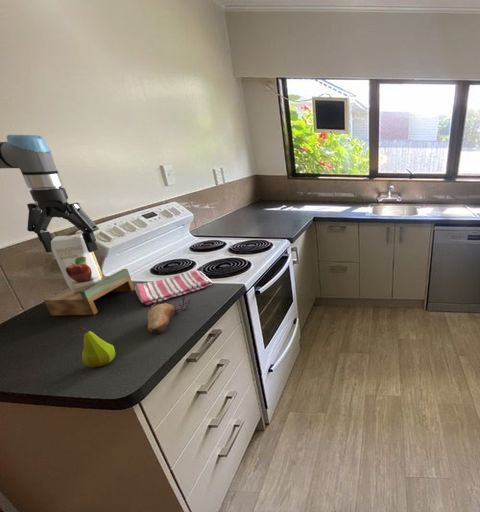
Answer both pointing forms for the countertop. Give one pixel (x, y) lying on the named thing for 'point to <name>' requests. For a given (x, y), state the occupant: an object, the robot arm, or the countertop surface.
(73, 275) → the juice carton
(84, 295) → the shelf
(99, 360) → the fruit
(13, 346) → the countertop surface
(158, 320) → the vegetable
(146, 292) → the dish towel
